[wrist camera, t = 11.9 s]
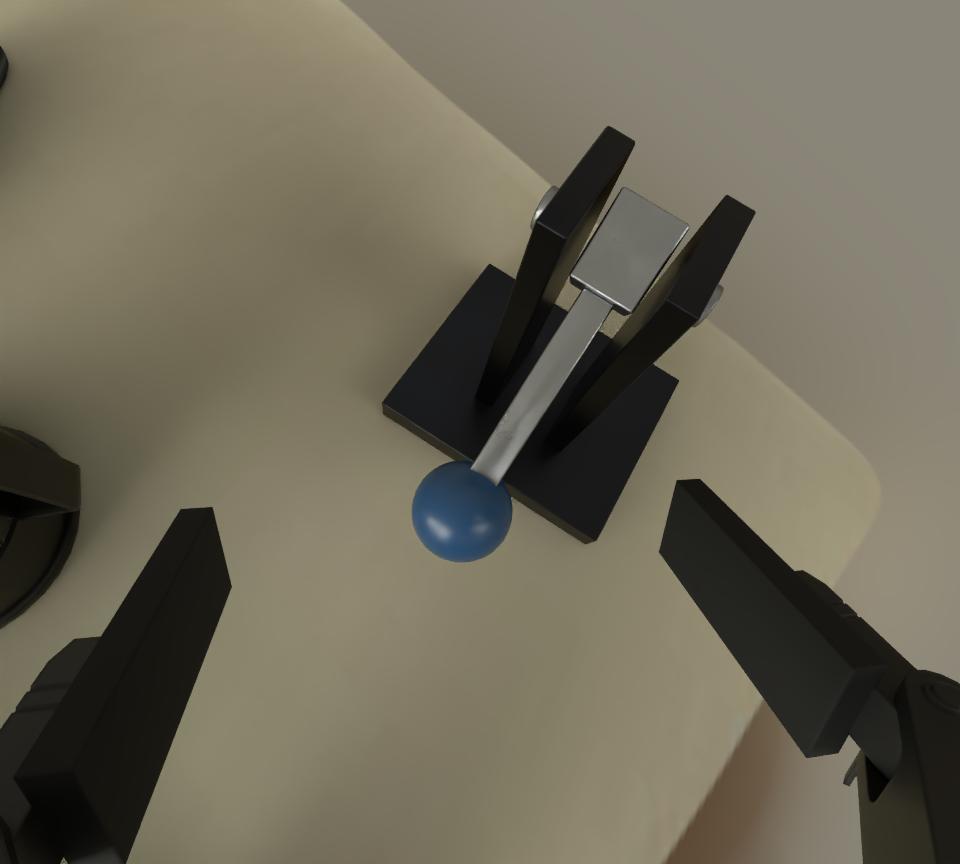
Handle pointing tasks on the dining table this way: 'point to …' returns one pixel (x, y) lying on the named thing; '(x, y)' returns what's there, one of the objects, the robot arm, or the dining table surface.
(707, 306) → the black lever stand
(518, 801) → the dining table surface
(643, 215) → the blue knobbed lever
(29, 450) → the french press
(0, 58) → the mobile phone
